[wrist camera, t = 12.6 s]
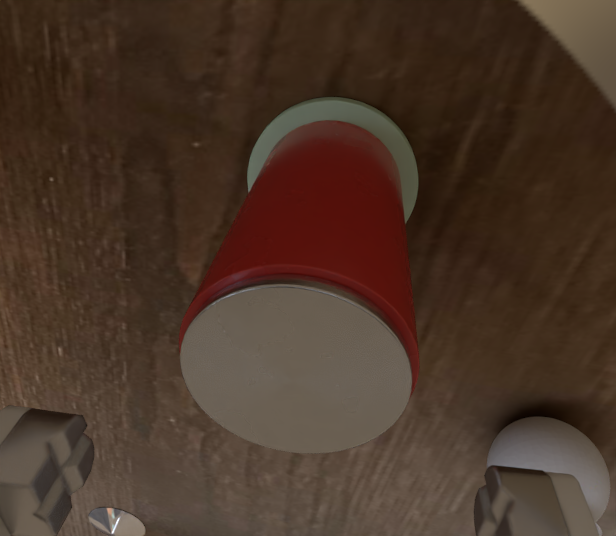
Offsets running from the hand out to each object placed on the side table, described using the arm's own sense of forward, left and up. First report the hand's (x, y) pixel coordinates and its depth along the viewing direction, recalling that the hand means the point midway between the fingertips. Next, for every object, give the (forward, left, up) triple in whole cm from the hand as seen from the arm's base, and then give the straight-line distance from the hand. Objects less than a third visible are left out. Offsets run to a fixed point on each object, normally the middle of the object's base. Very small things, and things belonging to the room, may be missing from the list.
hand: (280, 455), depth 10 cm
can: (0, 0, -14) cm, 14 cm away
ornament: (+14, +13, -15) cm, 24 cm away
